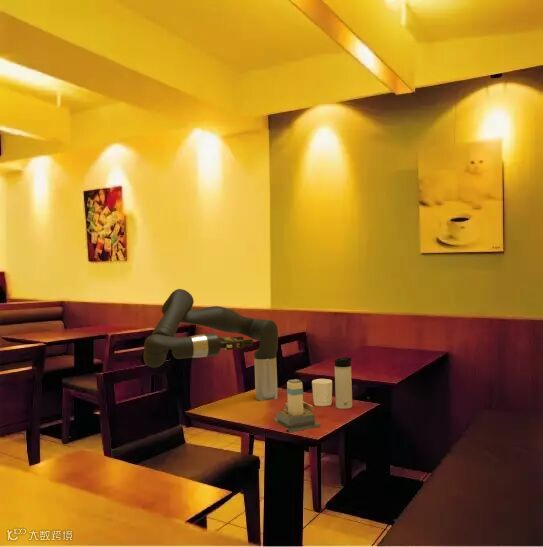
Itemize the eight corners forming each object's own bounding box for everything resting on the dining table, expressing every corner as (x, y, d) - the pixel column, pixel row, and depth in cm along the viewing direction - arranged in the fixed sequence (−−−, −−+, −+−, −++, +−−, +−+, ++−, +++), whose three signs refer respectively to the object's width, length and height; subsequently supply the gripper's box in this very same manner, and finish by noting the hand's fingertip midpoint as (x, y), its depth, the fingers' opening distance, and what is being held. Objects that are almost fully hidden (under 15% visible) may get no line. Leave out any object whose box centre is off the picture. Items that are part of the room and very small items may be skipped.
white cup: (332, 403, 222) (332, 378, 221) (333, 409, 214) (332, 383, 213) (313, 403, 222) (312, 379, 222) (312, 409, 214) (311, 383, 214)
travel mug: (349, 412, 208) (347, 359, 208) (333, 410, 212) (331, 358, 211) (355, 408, 214) (354, 356, 213) (339, 406, 217) (338, 355, 217)
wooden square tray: (283, 411, 213) (283, 403, 212) (304, 408, 216) (303, 400, 216) (293, 417, 204) (293, 409, 204) (315, 413, 208) (314, 405, 208)
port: (271, 422, 199) (271, 411, 199) (301, 417, 204) (301, 406, 204) (289, 432, 186) (288, 420, 186) (320, 427, 191) (320, 415, 191)
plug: (288, 421, 196) (286, 380, 196) (298, 419, 198) (297, 378, 197) (293, 424, 192) (291, 382, 192) (304, 422, 194) (302, 380, 194)
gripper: (210, 336, 180) (255, 332, 187) (196, 332, 193) (239, 328, 200) (211, 359, 180) (256, 354, 187) (197, 353, 193) (240, 349, 200)
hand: (247, 340), depth 194 cm, fingers open, 8 cm apart
